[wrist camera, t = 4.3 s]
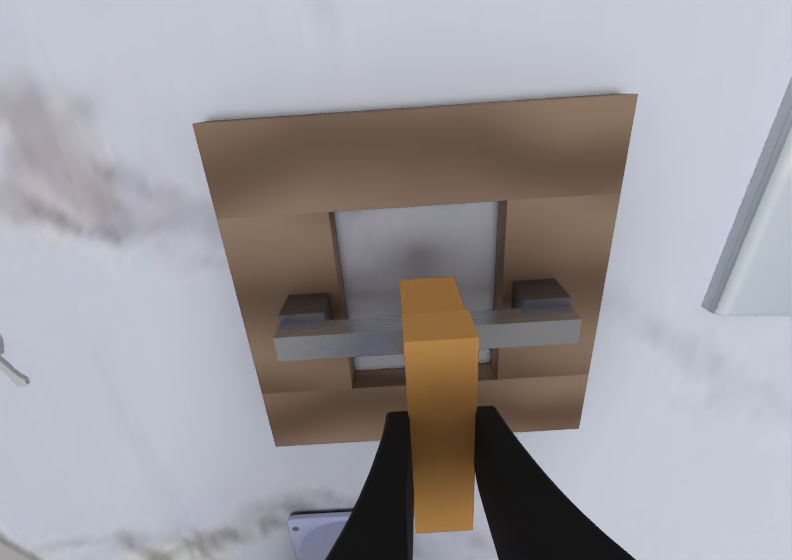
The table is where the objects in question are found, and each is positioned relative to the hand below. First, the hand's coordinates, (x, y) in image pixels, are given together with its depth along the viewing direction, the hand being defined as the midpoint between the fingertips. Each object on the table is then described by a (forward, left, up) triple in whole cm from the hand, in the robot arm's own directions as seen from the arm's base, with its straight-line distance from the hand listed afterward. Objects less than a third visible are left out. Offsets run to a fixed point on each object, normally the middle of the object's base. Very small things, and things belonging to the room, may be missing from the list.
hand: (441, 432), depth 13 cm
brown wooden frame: (0, 0, -10) cm, 10 cm away
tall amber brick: (0, 0, -4) cm, 4 cm away
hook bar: (0, 0, -8) cm, 8 cm away
